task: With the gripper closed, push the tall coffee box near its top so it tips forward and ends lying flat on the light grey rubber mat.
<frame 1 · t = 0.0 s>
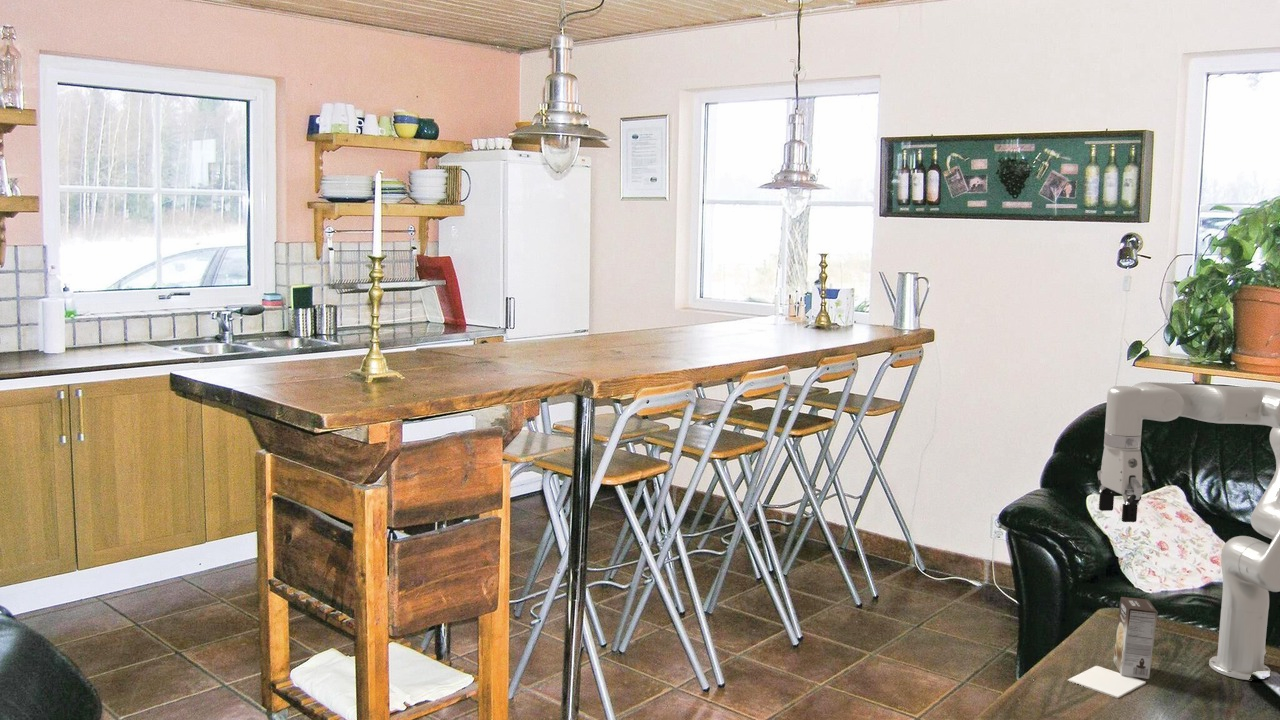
hand: (1117, 515, 247), 37 cm above the table, tool pointing down, fingers open, 9 cm apart
mat: (1106, 682, 246), on the table
coffee box: (1130, 671, 253), on the table, touching mat
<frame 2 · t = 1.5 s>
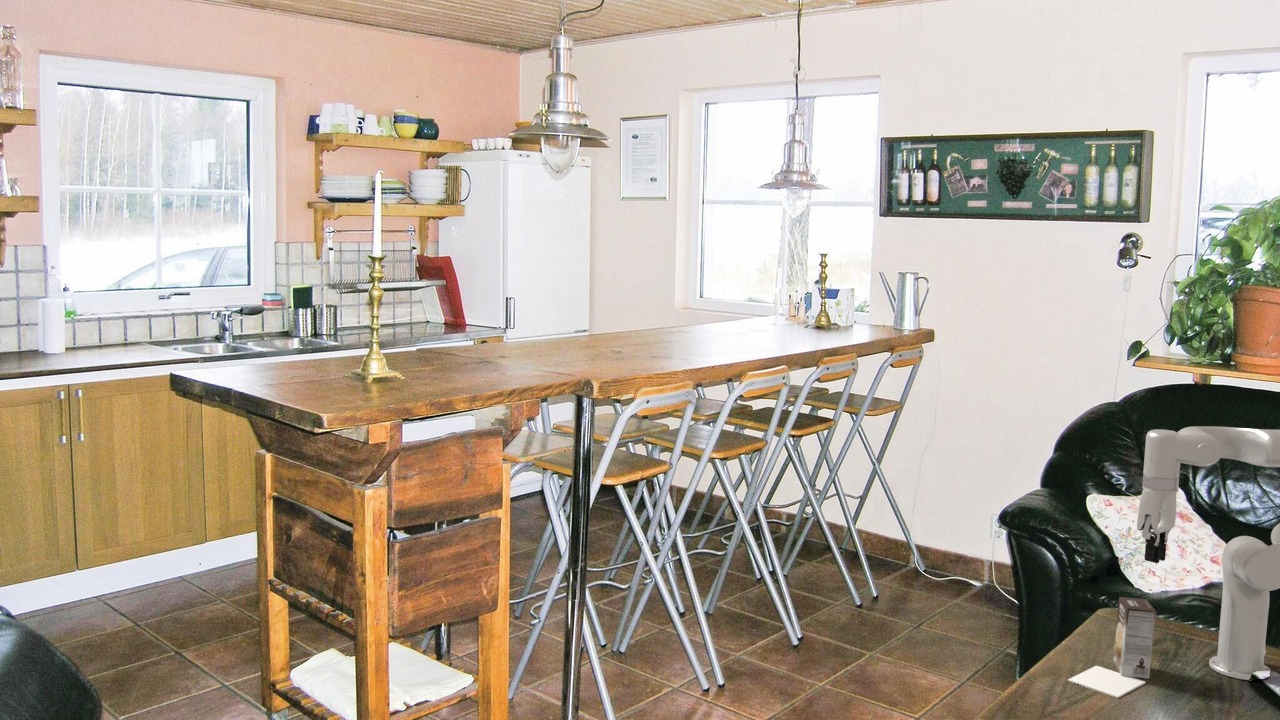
hand: (1154, 559, 255), 25 cm above the table, tool pointing down, fingers closed
nothing on the table moved.
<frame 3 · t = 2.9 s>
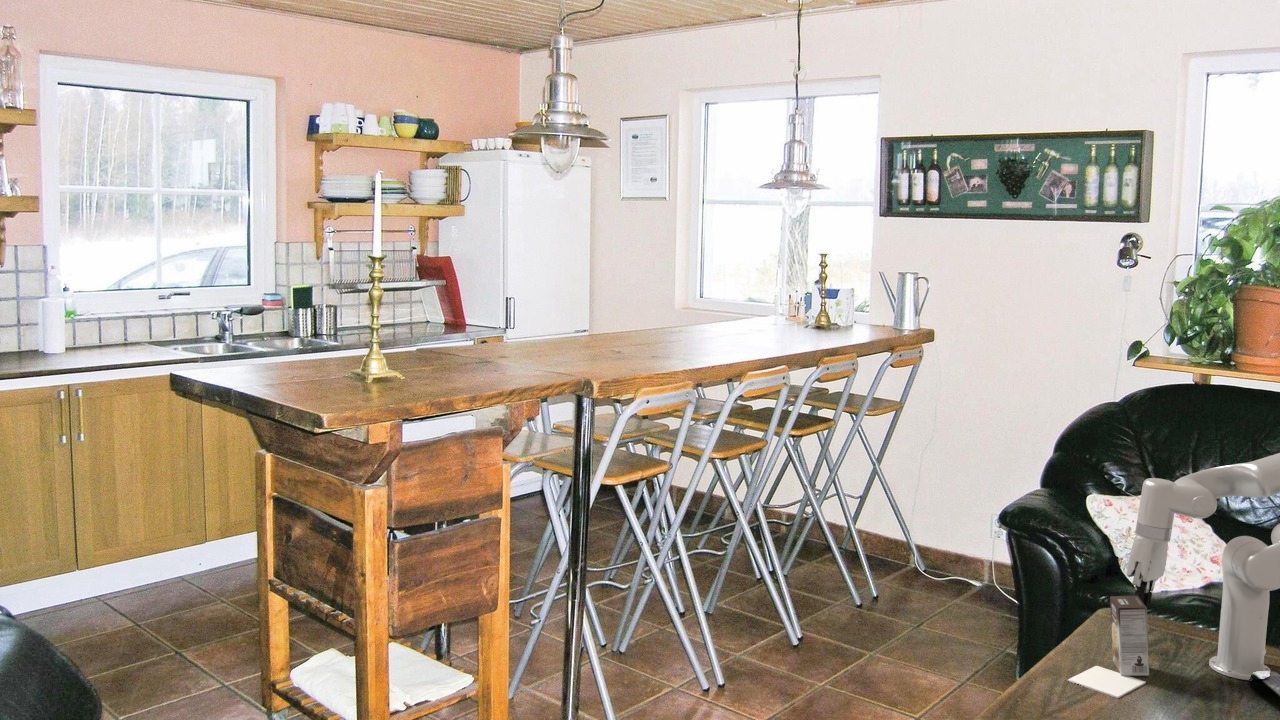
hand: (1141, 606, 257), 14 cm above the table, tool pointing down, fingers closed
coffee box: (1131, 669, 253), on the table, touching mat
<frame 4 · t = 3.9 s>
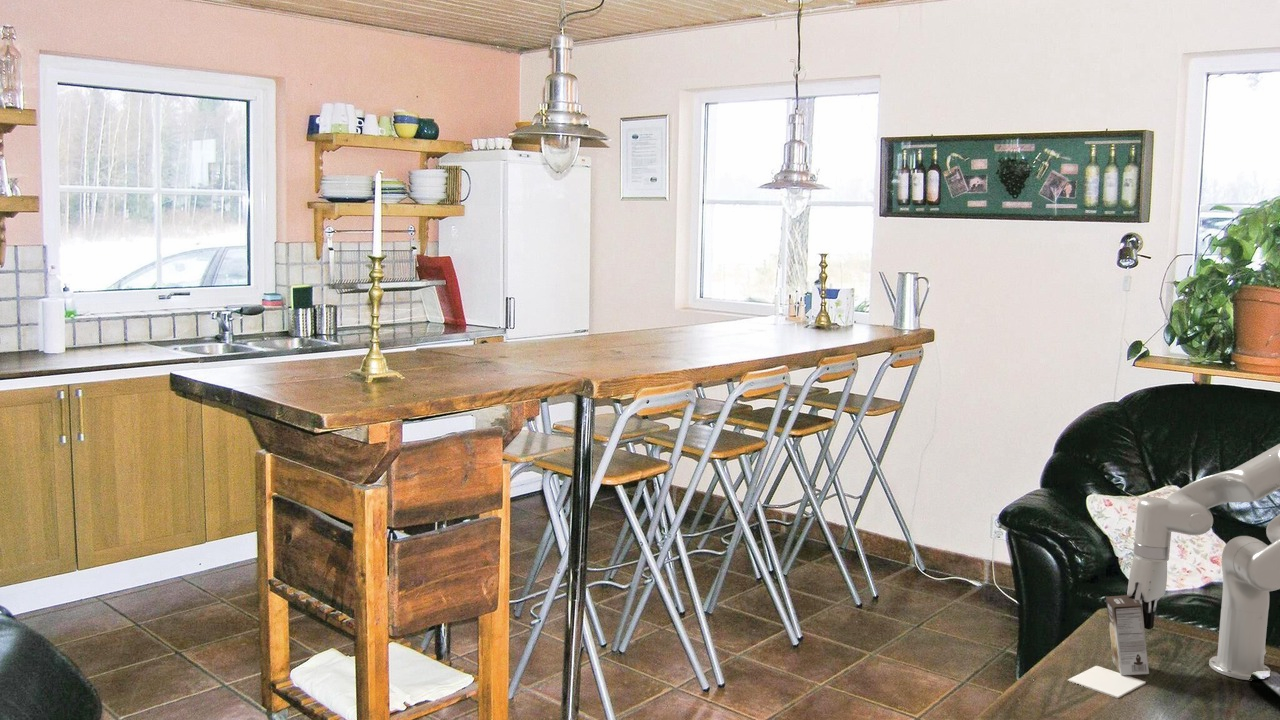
hand: (1144, 627, 256), 9 cm above the table, tool pointing down, fingers closed
coffee box: (1131, 669, 253), point 1 cm above the table, touching gripper, mat
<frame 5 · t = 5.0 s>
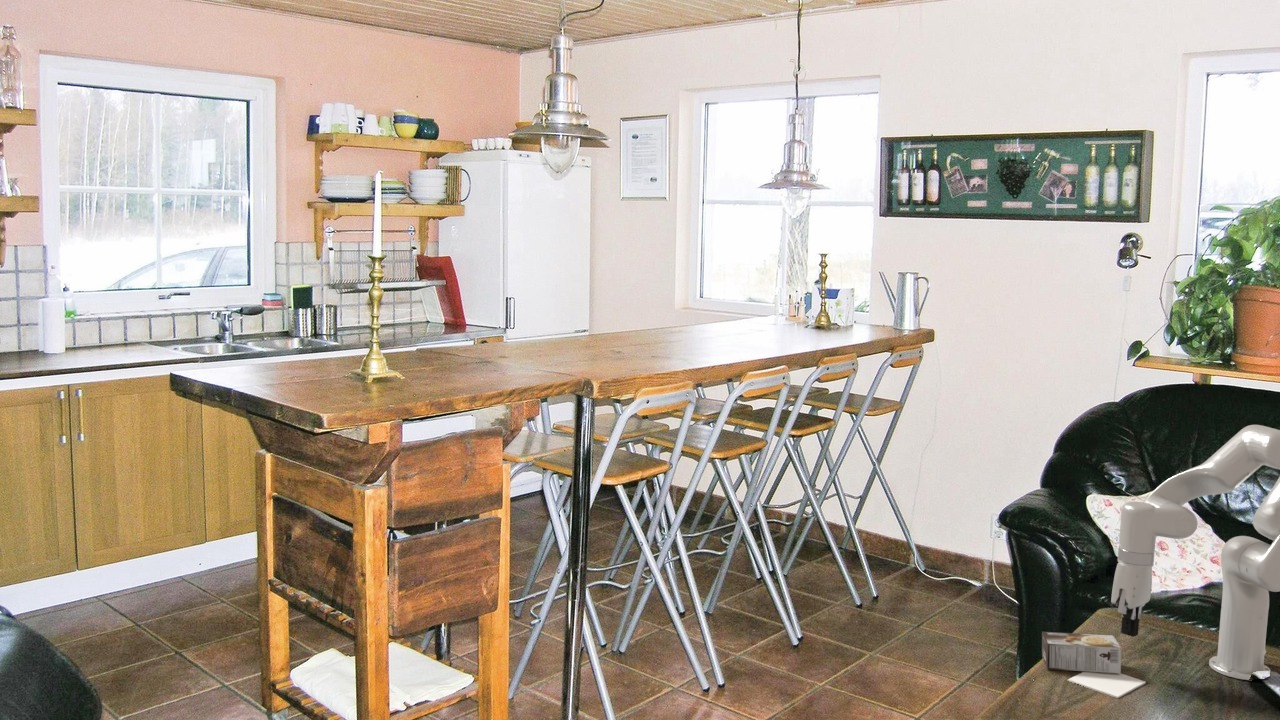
hand: (1129, 634, 251), 9 cm above the table, tool pointing down, fingers closed
coffee box: (1118, 654, 253), point 4 cm above the table, touching mat
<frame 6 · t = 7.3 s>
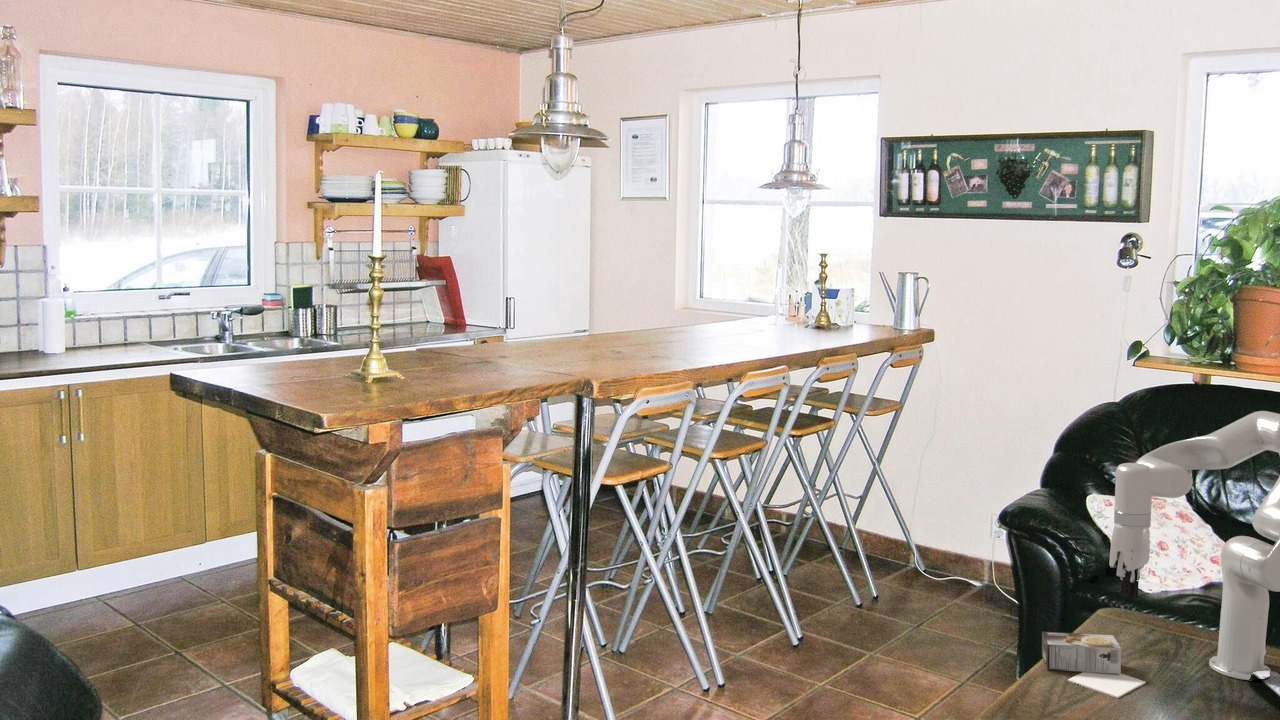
hand: (1129, 597, 247), 19 cm above the table, tool pointing down, fingers closed
nothing on the table moved.
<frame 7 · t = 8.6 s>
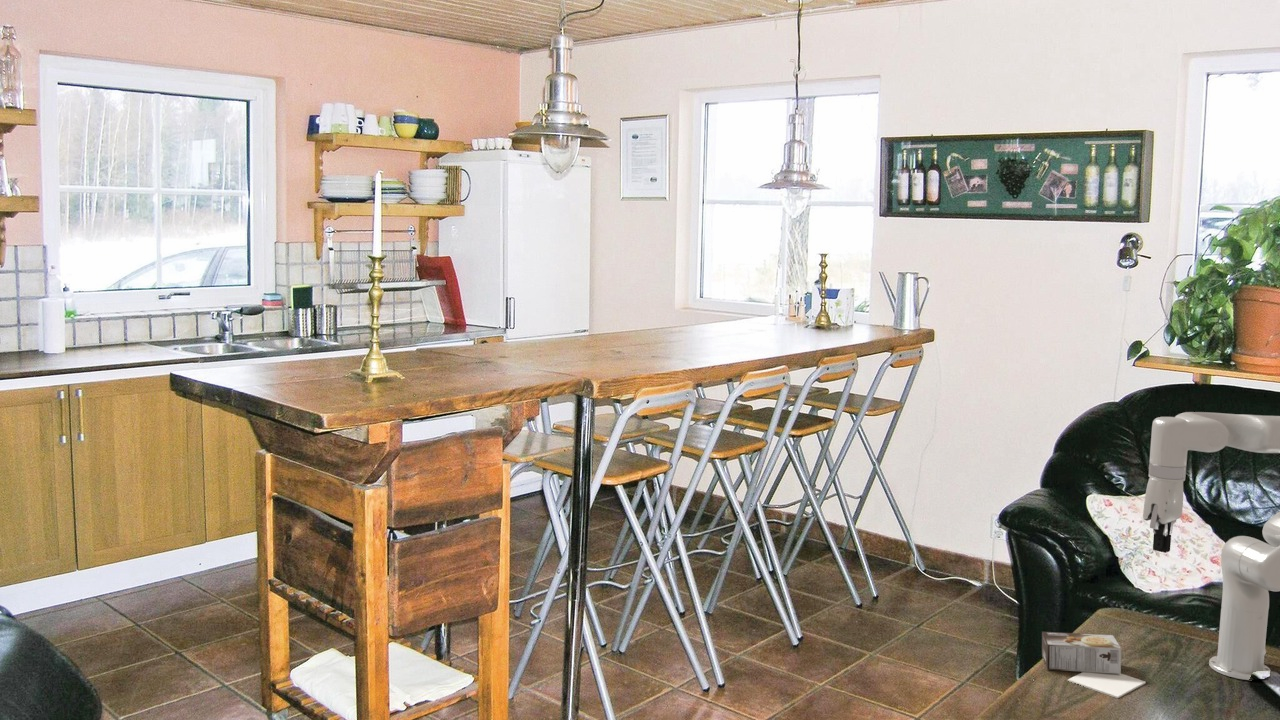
hand: (1161, 550, 249), 29 cm above the table, tool pointing down, fingers closed
nothing on the table moved.
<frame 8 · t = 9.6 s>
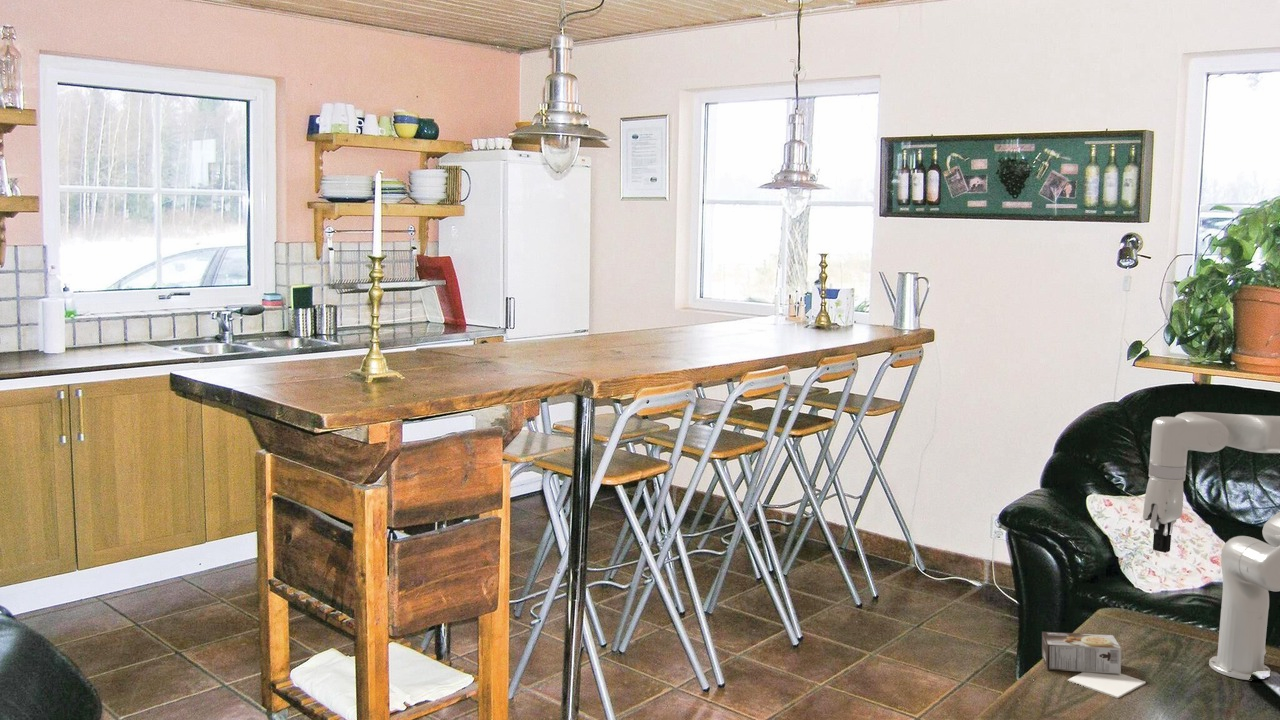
hand: (1161, 550, 249), 29 cm above the table, tool pointing down, fingers closed
nothing on the table moved.
at the end: coffee box tilted 92°; coffee box touching mat, table; coffee box inside the target area (4.4 cm from its centre), point 3.8 cm above the table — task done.
